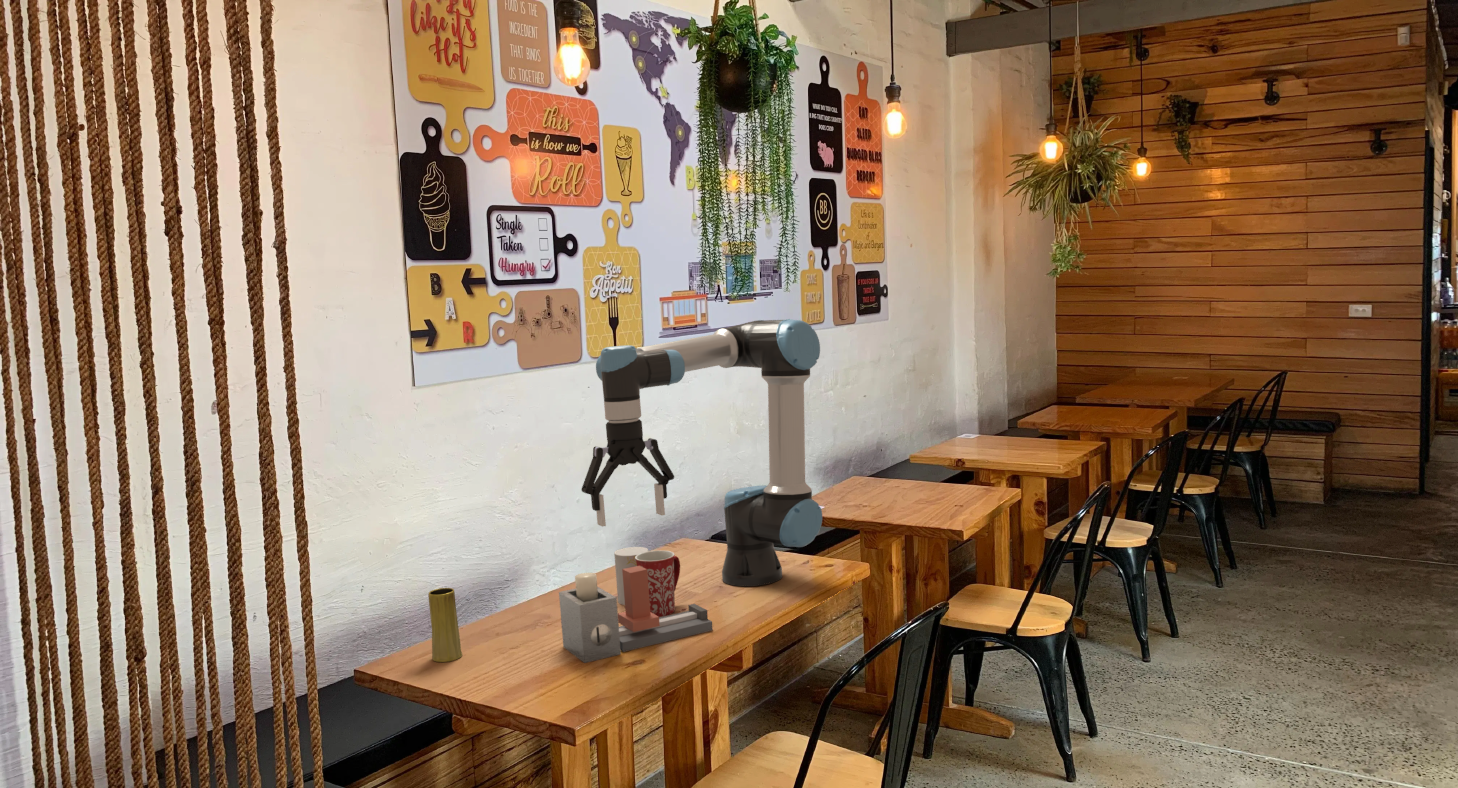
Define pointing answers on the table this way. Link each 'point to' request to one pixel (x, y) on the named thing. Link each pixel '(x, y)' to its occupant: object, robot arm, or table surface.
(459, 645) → the vase
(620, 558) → the cup
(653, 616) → the carriage
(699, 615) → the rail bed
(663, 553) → the mug
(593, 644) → the grey box holder
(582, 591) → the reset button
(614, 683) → the table surface
